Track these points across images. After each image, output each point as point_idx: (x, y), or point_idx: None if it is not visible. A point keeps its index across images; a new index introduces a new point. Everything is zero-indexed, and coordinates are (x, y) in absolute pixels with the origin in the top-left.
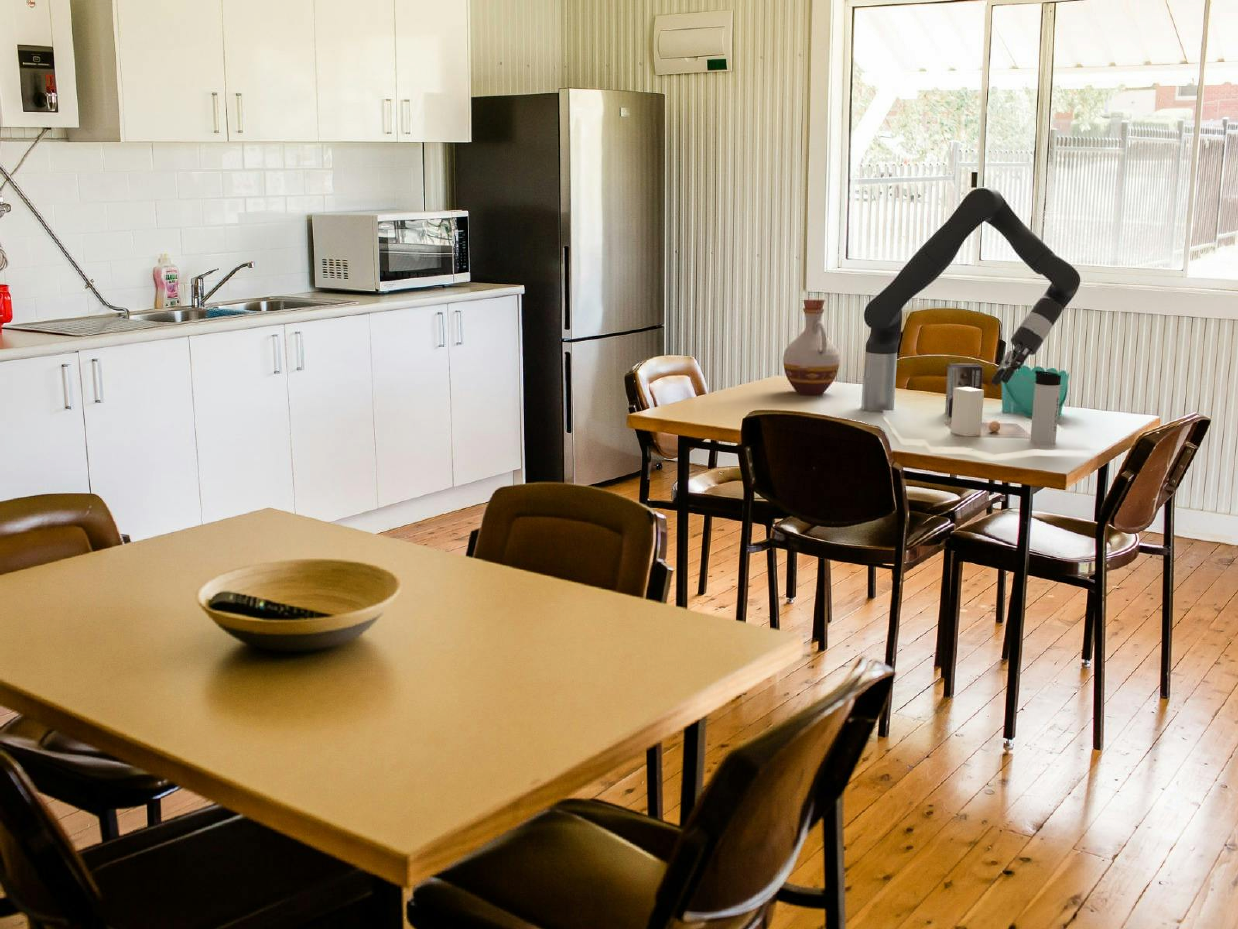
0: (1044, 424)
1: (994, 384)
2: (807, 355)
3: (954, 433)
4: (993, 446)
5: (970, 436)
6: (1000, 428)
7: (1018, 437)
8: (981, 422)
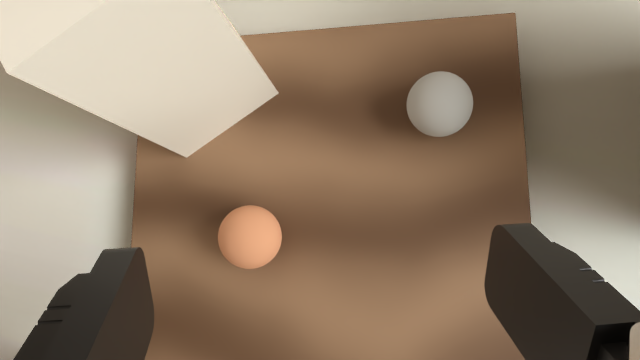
0: None
1: (489, 262)
2: None
3: None
4: (77, 200)
5: None
6: (365, 296)
7: None
8: (155, 142)
